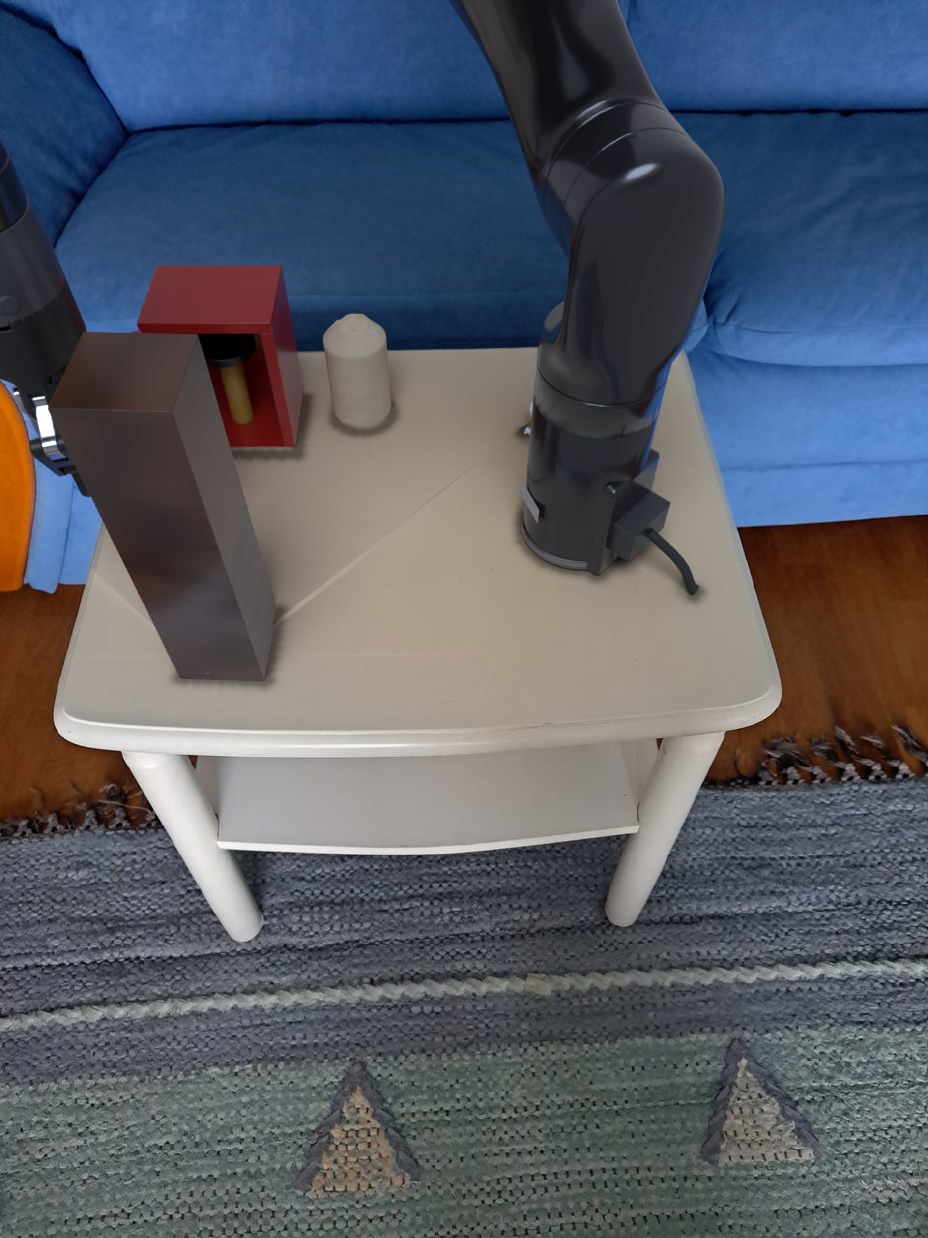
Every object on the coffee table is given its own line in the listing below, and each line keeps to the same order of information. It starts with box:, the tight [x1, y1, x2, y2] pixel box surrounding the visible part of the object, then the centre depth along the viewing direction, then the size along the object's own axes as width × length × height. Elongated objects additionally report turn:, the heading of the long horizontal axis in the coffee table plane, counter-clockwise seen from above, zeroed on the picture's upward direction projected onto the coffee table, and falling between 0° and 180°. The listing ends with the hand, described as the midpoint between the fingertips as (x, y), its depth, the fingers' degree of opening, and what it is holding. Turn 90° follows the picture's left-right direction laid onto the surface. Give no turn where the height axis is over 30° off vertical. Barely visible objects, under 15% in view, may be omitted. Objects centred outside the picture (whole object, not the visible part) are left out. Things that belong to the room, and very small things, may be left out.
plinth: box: [48, 331, 277, 682], centre depth 57 cm, size 6×6×26 cm
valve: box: [198, 334, 256, 424], centre depth 77 cm, size 5×5×8 cm
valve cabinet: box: [136, 264, 305, 448], centre depth 76 cm, size 8×10×14 cm
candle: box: [322, 313, 392, 427], centre depth 79 cm, size 6×6×10 cm
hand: (97, 482), depth 67 cm, fingers closed
